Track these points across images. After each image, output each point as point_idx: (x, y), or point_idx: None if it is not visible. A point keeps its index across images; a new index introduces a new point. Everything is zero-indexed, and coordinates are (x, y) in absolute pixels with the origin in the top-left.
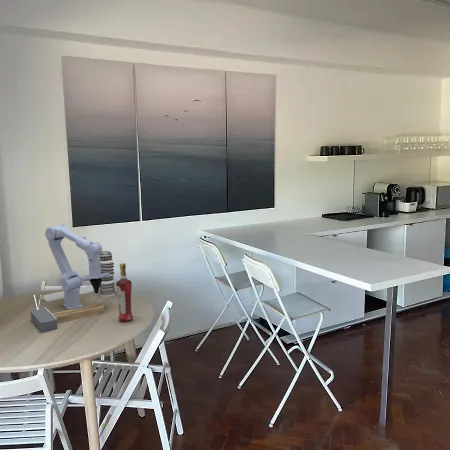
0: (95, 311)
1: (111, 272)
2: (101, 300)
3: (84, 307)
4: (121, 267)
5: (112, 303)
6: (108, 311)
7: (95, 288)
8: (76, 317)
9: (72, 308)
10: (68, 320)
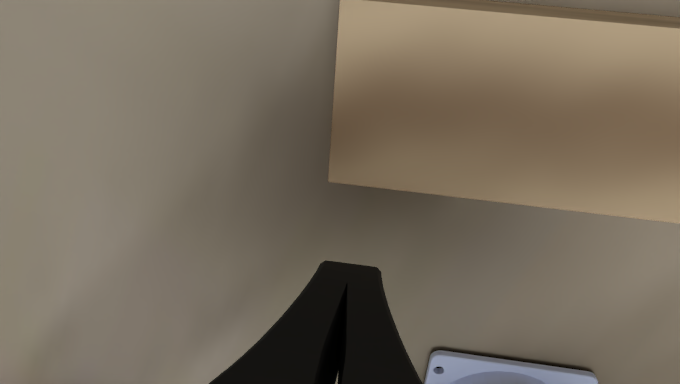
0: (490, 5)
1: None
2: (210, 372)
3: (584, 180)
4: None
5: (143, 234)
6: (281, 9)
7: (389, 340)
8: None
9: (552, 367)
10: None
